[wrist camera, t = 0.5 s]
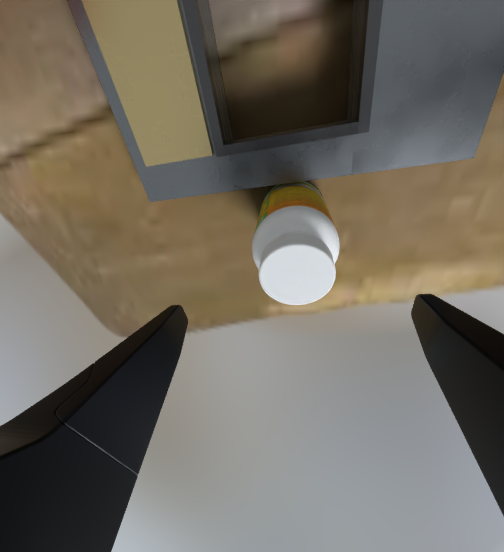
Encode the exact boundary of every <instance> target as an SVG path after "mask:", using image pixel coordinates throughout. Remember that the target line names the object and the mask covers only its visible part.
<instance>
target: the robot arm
mask: <svg viewBox="0 0 504 552" xmlns="http://www.w3.org/2000/svg"><path fill="white" fill-rule="evenodd" d="M411 315H412V320H413V322H414V325H415V328H416V331H417V334H418V337H419V340H420V342H421V345H422V348H423V351H424V354H425V356H426V359H427V361H428V363H429V365H430V367H431V369H432V371H433V373H434V375H435V377H436V379H437V381H438V383H439V385H440V388H441V390H442V392H443V393H444V395H445V398H446V400H447V402H448V403H449V406H450V408H451V410H452V412H453V414H454V416H455V418H456V420H457V422H458V424H459V426H460V428H461V430H462V432H463V434H464V436H465V438H466V440H467V442H468V445H469V446H470V448H471V451H472V453H473V455H474V457H475V459H476V460H477V463H478V465H479V467H480V469H481V471H482V473H483V475H484V477H485V479H486V481H487V483H488V485H489V487H490V489H491V491H492V493H493V495H494V497H495V499H496V501H497V503H498V506H499V508H500V509H501V511H502V514H503V516H504V334H502V333H501V332H499V331H497V330H495V329H493V328H492V327H490V326H488V325H486V324H484V323H483V322H481V321H479V320H477V319H475V318H474V317H472V316H470V315H468V314H467V313H464V312H463V311H461V310H459V309H458V308H456V307H454V306H452V305H450V304H449V303H447V302H445V301H443V300H442V299H440V298H438V297H436V296H434V295H432V294H419V295H417V296H416V298H415V301H414V304H413V308H412V311H411ZM187 325H188V319H187V316H186V314H185V312H184V310H183V308H182V306H181V305H171V306H170V307H168V308H167V309H166V310H164V311H163V312H162V313H160V314H159V315H157V316H156V317H155V318H153V319H152V320H151V321H149V322H148V323H147V324H145V325H144V326H143V327H141V328H140V329H139V330H137V331H136V332H135V333H133V334H132V335H131V336H129V337H128V338H127V339H125V340H124V341H123V342H121V343H120V344H118V346H116V347H114V348H113V349H112V350H111V351H109V352H108V353H106V354H105V355H104V356H102V357H101V358H100V359H98V360H97V361H96V362H95V363H93V364H92V365H90V366H89V367H88V368H86V369H85V370H84V371H82V372H81V373H79V374H78V375H77V376H75V377H74V378H72V379H71V380H70V381H68V382H67V383H66V384H64V385H62V386H61V387H60V388H58V389H57V390H55V391H54V392H52V393H51V394H49V395H48V396H46V397H45V398H43V399H42V400H40V401H39V402H37V403H36V404H34V405H33V406H31V407H30V408H28V409H27V410H25V411H24V412H22V413H21V414H19V415H18V416H16V417H15V418H13V419H12V420H10V421H9V422H7V423H5V424H4V425H1V426H0V552H111V550H112V548H113V545H114V542H115V539H116V536H117V533H118V531H119V528H120V525H121V522H122V519H123V516H124V513H125V511H126V508H127V505H128V502H129V499H130V497H131V493H132V491H133V488H134V485H135V482H136V480H137V475H138V473H139V470H140V468H141V465H142V462H143V459H144V456H145V454H146V451H147V448H148V445H149V442H150V439H151V437H152V434H153V431H154V428H155V425H156V422H157V420H158V417H159V414H160V411H161V408H162V405H163V403H164V400H165V397H166V394H167V391H168V388H169V386H170V383H171V380H172V377H173V374H174V371H175V368H176V366H177V363H178V360H179V357H180V354H181V350H182V346H183V342H184V337H185V333H186V329H187Z"/></svg>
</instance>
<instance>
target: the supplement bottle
mask: <svg viewBox="0 0 504 552" xmlns="http://www.w3.org/2000/svg"><path fill="white" fill-rule="evenodd" d="M338 254H339V237H338V234H337V230H336V228H335V225H334V223H333V221H332V218H331V216H330V214H329V211H328V209H327V206H326V204H325V201H324V199H323V197H322V195H321V193H320V192H319V191H318V190H317V189H316V188H315V187H314V186H313V185H311V184H309V183H307V182H304V181H301V182H294V183H286V184H279V185H277V186H275V187H274V188H273V189H271V190H270V191H269V193H268V194H267V195H266V197H265V199H264V201H263V203H262V206H261V210H260V214H259V218H258V222H257V226H256V230H255V234H254V237H253V243H252V255H253V259H254V262H255V264H256V266H257V268H258V269H259V281H260V284H261V286H262V288H263V289H264V291H265V292H266V293H267V294H268V295H269V296H270V297H272V298H273V299H275V300H277V301H279V302H281V303H285V304H290V305H303V304H308V303H311V302H314V301H316V300H318V299H320V298H322V297H323V296H324V295H325V294H326V293H328V291H329V290H330V289H331V287H332V285H333V283H334V281H335V275H336V270H335V265H334V264H335V262H336V260H337V257H338Z"/></svg>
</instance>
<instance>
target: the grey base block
mask: <svg viewBox="0 0 504 552" xmlns="http://www.w3.org/2000/svg"><path fill="white" fill-rule="evenodd" d="M67 2H68V4H69V7H70V9H71V12H72V14H73V16H74V19H75V21H76V24H77V26H78V29H79V31H80V33H81V36H82V38H83V41H84V43H85V46H86V48H87V50H88V53H89V55H90V58H91V60H92V63H93V65H94V68H95V70H96V72H97V75H98V77H99V80H100V82H101V85H102V87H103V89H104V92H105V94H106V97H107V99H108V102H109V104H110V106H111V109H112V111H113V114H114V116H115V119H116V121H117V123H118V126H119V128H120V131H121V133H122V136H123V138H124V140H125V143H126V145H127V148H128V150H129V153H130V155H131V157H132V160H133V162H134V165H135V167H136V170H137V172H138V174H139V177H140V179H141V182H142V184H143V187H144V189H145V191H146V194H147V196H148V199H149V201H150V202H153V201H161V200H168V199H175V198H183V197H190V196H198V195H205V194H212V193H220V192H227V191H235V190H242V189H249V188H257V187H264V186H272V185H279V184H286V183H294V182H301V181H308V180H316V179H323V178H331V177H338V176H345V175H353V174H360V173H368V172H375V171H382V170H390V169H397V168H405V167H412V166H419V165H427V164H434V163H441V162H449V161H456V160H464V159H471V158H474V156H475V153H476V150H477V147H478V144H479V141H480V138H481V136H482V133H483V130H484V127H485V124H486V121H487V118H488V115H489V113H490V110H491V107H492V104H493V101H494V98H495V95H496V92H497V90H498V87H499V84H500V81H501V78H502V75H503V72H504V0H354V6H353V23H352V39H351V56H350V72H349V88H348V105H347V120H342V121H337V122H331V123H326V124H320V125H314V126H309V127H303V128H298V129H292V130H287V131H281V132H275V133H270V134H264V135H259V136H253V137H248V138H242V139H236V140H233V136H232V130H231V125H230V119H229V113H228V108H227V102H226V97H225V91H224V85H223V80H222V74H221V69H220V63H219V57H218V52H217V46H216V41H215V35H214V29H213V24H212V18H211V13H210V7H209V1H208V0H67Z"/></svg>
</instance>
